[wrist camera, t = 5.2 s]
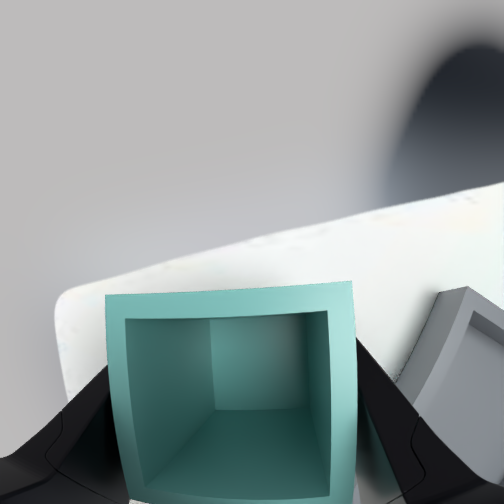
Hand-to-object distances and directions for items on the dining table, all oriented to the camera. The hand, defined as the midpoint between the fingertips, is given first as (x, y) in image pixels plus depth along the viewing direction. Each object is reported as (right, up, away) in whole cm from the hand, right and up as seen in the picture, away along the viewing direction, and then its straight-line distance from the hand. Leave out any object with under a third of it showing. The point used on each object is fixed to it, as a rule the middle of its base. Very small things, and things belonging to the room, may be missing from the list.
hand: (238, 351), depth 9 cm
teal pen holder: (+1, -3, +6) cm, 7 cm away
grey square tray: (+19, -13, +9) cm, 25 cm away
